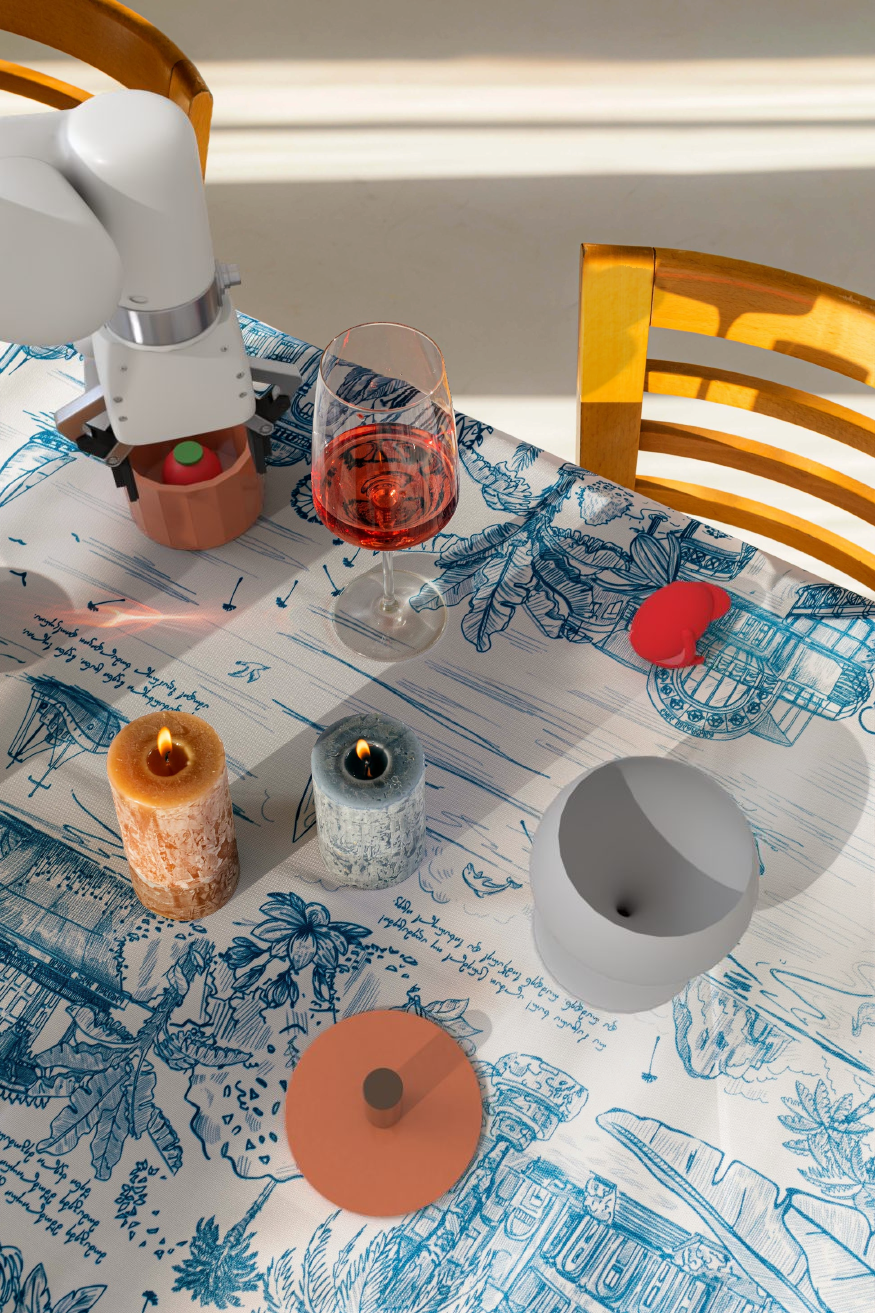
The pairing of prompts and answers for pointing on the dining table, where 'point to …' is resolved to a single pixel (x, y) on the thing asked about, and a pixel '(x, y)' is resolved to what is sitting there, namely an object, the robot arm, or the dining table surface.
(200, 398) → the robot arm
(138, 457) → the pot
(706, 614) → the cap
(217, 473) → the tomato
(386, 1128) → the lid
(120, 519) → the dining table surface
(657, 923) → the chalice
